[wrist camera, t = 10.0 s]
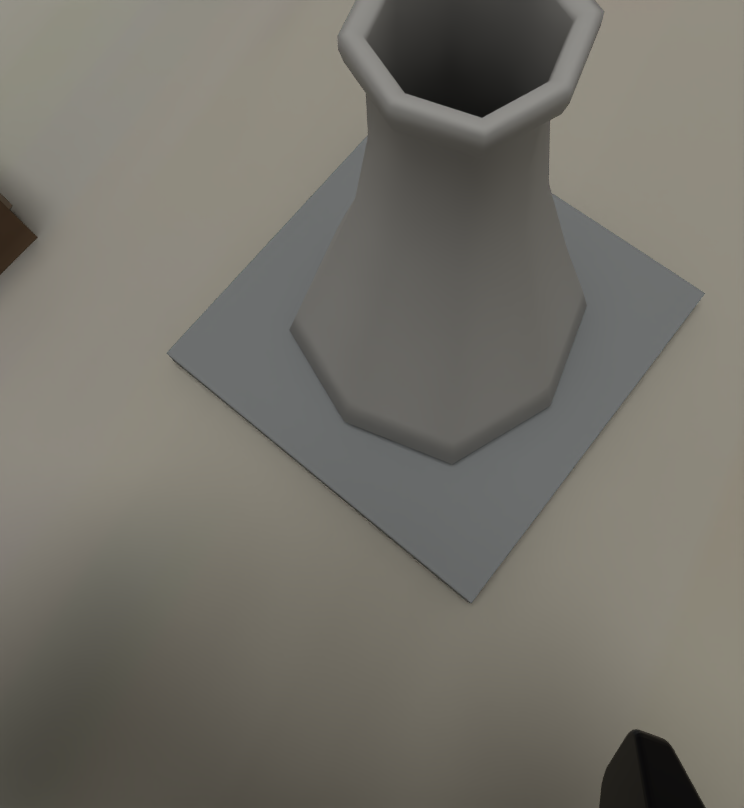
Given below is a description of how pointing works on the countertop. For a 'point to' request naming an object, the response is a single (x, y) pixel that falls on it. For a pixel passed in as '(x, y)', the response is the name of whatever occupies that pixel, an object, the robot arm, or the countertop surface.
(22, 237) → the letter cube
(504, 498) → the grey coaster
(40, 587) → the countertop surface
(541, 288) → the flask
